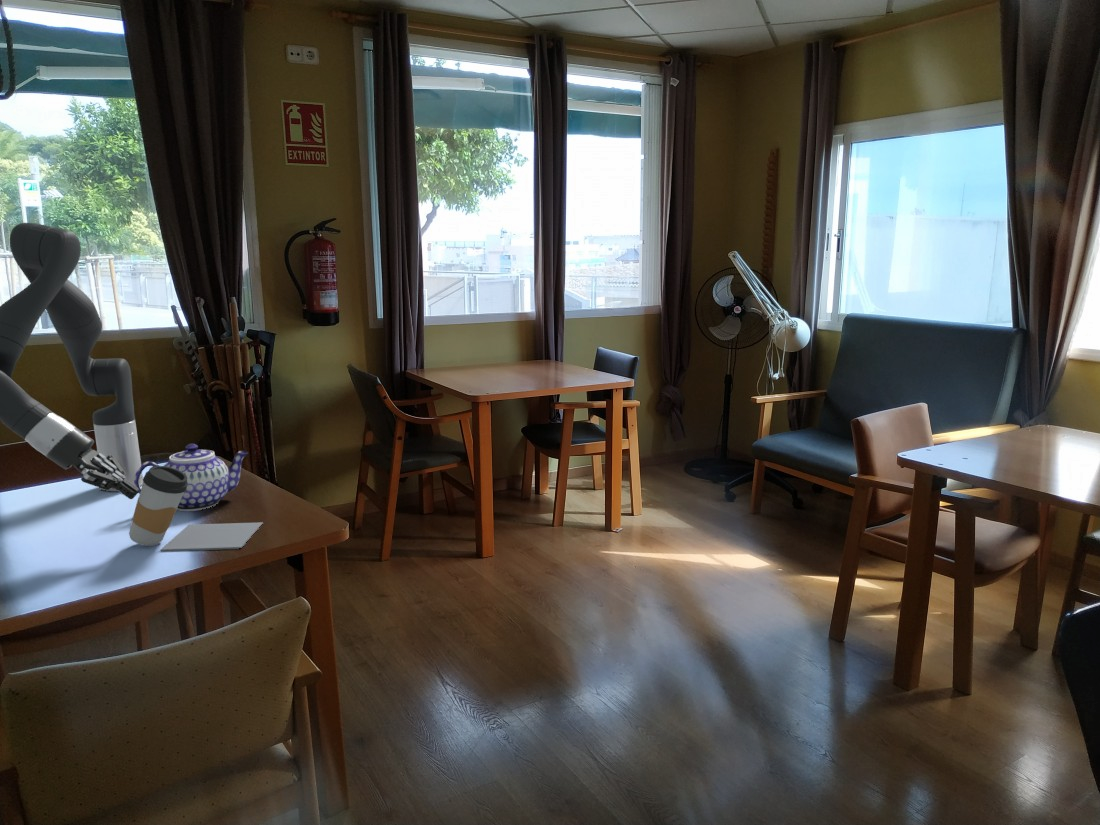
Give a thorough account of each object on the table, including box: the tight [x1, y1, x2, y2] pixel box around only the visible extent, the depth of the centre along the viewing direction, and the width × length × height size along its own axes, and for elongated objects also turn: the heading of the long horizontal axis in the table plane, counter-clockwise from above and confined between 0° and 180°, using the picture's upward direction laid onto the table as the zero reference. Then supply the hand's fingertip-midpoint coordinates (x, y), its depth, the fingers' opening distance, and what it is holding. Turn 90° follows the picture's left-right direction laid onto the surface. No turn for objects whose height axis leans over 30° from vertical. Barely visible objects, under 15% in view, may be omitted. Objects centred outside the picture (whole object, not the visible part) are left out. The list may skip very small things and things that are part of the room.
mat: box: [160, 521, 264, 552], centre depth 158 cm, size 16×14×1 cm
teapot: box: [134, 443, 249, 512], centre depth 177 cm, size 25×15×15 cm, turn 121°
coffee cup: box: [128, 465, 188, 547], centre depth 153 cm, size 8×8×15 cm
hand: (136, 494), depth 152 cm, fingers closed
